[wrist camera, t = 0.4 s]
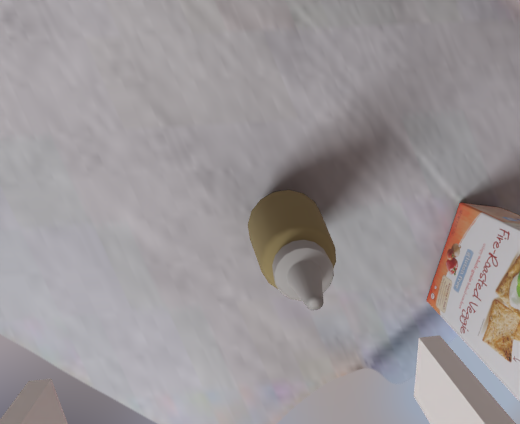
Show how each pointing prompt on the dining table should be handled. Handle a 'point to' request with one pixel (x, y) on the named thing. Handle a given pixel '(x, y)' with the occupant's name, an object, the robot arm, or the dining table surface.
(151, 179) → the dining table surface
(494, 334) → the cracker box
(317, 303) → the squeeze bottle
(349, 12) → the dining table surface
